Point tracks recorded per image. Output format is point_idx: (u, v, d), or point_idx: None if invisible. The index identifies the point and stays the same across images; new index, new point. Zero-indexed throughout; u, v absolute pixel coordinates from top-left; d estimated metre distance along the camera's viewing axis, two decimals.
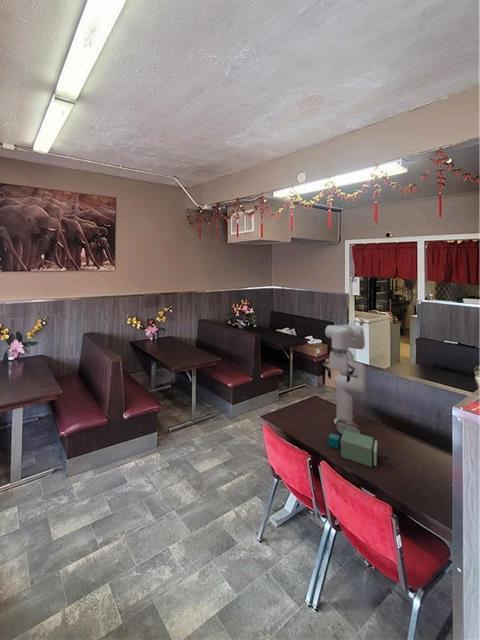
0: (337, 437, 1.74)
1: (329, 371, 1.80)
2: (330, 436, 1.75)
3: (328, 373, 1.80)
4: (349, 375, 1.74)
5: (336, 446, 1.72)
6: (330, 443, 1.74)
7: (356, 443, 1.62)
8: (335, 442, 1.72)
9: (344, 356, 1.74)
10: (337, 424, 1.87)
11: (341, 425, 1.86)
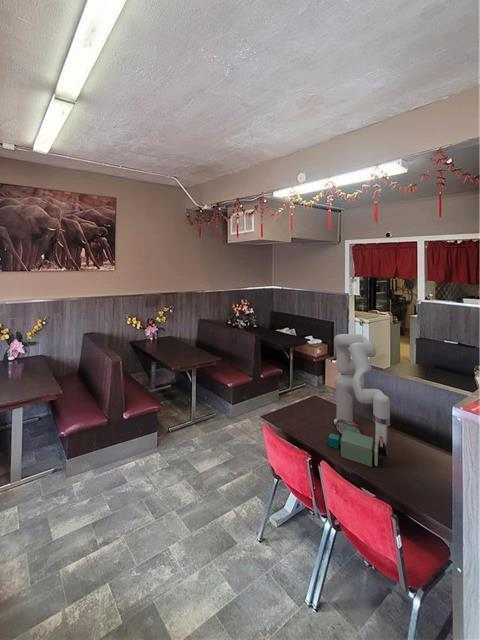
0: (337, 437, 1.74)
1: None
2: (330, 436, 1.75)
3: (383, 450, 1.58)
4: (384, 445, 1.60)
5: (336, 446, 1.72)
6: (330, 443, 1.74)
7: (356, 443, 1.62)
8: (335, 442, 1.72)
9: None
10: (337, 424, 1.87)
11: (341, 425, 1.86)
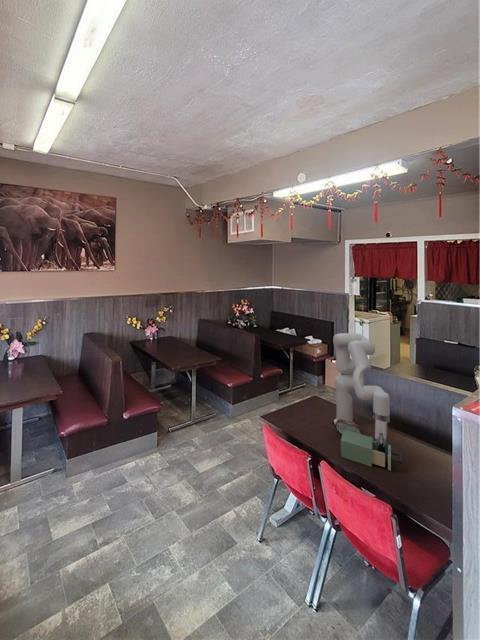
0: (385, 442, 1.59)
1: None
2: (377, 441, 1.60)
3: (383, 449, 1.56)
4: (384, 439, 1.62)
5: (385, 452, 1.57)
6: (377, 449, 1.58)
7: (356, 443, 1.62)
8: None
9: None
10: (337, 424, 1.87)
11: (341, 425, 1.86)
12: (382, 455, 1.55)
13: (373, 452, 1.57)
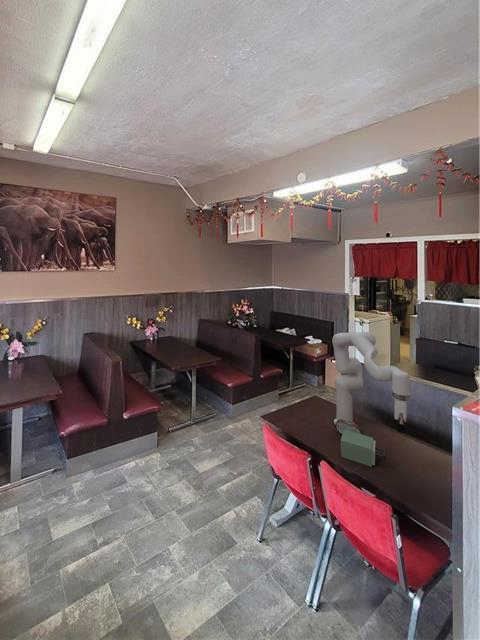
0: None
1: (402, 424, 1.54)
2: None
3: (402, 427, 1.54)
4: (403, 423, 1.56)
5: None
6: None
7: (356, 443, 1.62)
8: None
9: None
10: (337, 424, 1.87)
11: (341, 425, 1.86)
12: None
13: None
